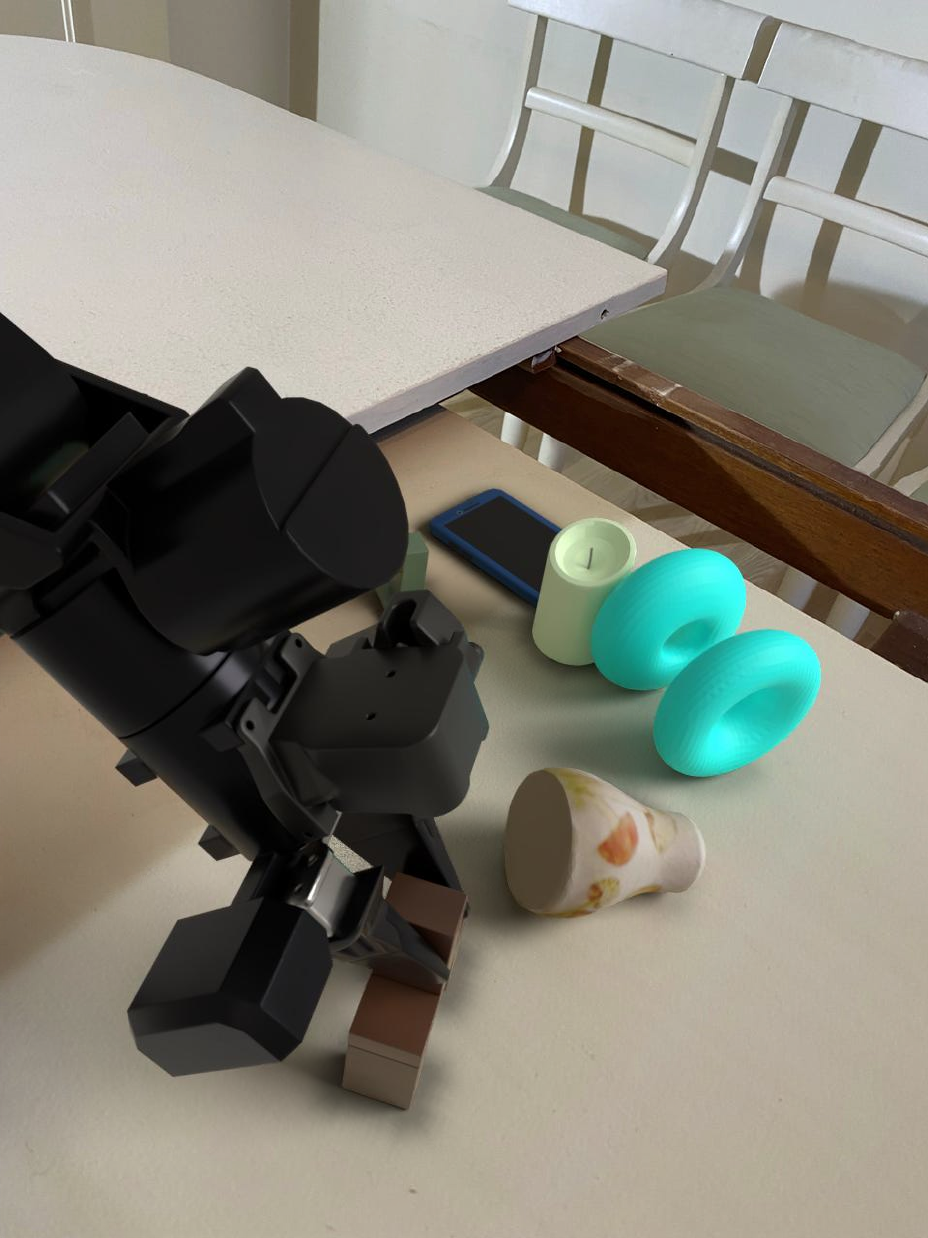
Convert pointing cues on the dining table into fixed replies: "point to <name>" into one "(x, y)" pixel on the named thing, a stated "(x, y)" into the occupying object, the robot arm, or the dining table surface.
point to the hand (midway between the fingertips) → (451, 947)
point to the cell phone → (500, 539)
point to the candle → (580, 586)
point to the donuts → (704, 662)
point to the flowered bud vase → (592, 845)
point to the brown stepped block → (403, 998)
